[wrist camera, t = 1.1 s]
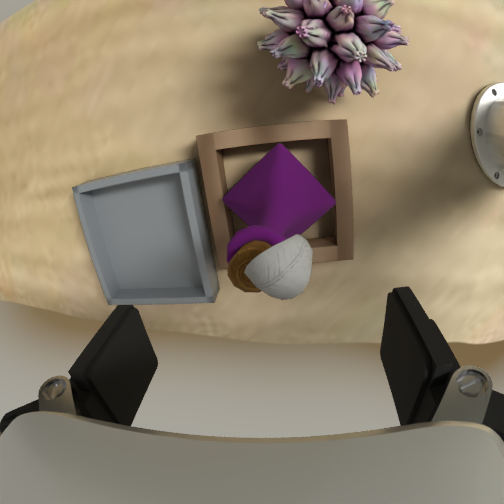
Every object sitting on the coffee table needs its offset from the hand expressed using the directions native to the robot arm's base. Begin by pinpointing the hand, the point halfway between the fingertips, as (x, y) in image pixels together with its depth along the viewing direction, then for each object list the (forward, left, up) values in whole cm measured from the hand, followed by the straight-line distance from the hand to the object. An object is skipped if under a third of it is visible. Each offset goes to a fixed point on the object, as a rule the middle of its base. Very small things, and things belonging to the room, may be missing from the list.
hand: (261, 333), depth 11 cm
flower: (-6, -14, -22) cm, 27 cm away
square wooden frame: (0, 0, -22) cm, 22 cm away
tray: (+15, +3, -22) cm, 26 cm away
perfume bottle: (0, 0, -22) cm, 22 cm away
